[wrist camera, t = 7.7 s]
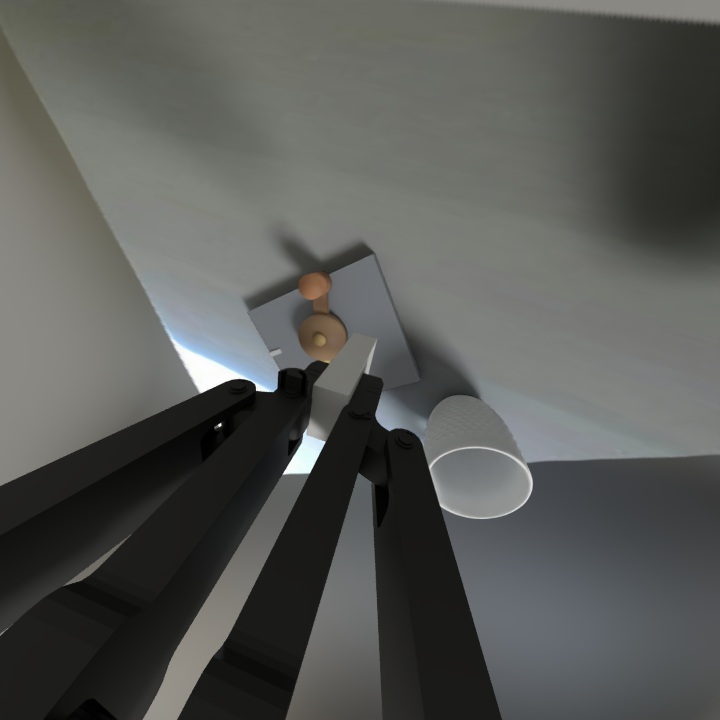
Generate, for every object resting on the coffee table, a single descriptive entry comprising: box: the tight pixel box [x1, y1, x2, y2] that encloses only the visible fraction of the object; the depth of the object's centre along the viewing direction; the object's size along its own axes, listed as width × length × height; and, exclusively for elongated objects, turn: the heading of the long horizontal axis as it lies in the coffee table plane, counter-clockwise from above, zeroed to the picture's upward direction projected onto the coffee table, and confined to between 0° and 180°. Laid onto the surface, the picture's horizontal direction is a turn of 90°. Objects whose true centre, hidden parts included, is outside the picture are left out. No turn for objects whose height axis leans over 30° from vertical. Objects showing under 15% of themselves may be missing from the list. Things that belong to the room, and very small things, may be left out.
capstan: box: [298, 271, 348, 363], centre depth 34 cm, size 17×6×4 cm, turn 1°
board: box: [247, 254, 420, 391], centre depth 37 cm, size 20×18×2 cm
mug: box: [423, 395, 532, 519], centre depth 34 cm, size 15×11×13 cm
